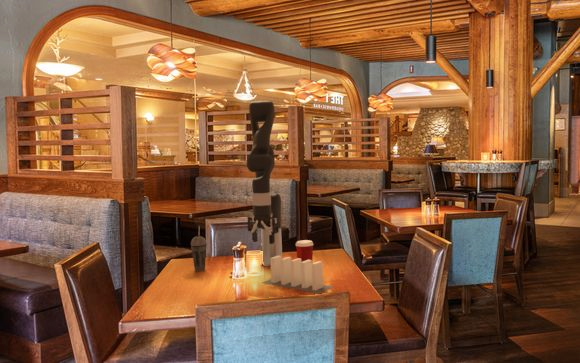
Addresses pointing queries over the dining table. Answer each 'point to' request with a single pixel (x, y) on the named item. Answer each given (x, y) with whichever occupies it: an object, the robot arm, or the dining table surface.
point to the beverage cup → (199, 252)
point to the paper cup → (304, 250)
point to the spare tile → (295, 272)
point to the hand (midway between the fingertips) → (263, 242)
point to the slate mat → (299, 287)
